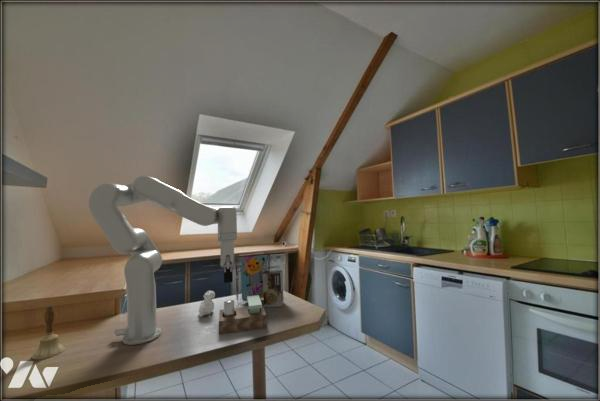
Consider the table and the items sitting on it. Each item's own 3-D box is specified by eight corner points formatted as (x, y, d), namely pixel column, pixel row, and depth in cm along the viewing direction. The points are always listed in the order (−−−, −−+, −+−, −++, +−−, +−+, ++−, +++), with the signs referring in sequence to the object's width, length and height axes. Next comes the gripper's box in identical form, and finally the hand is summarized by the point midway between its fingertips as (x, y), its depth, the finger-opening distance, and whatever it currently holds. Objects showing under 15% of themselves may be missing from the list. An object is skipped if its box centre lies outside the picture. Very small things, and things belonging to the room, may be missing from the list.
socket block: (219, 334, 100) (218, 321, 100) (219, 321, 111) (219, 309, 111) (266, 327, 104) (266, 314, 105) (262, 315, 116) (262, 304, 116)
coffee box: (284, 302, 132) (283, 269, 133) (281, 307, 126) (280, 273, 126) (266, 302, 133) (265, 270, 134) (263, 307, 127) (262, 273, 127)
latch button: (249, 320, 103) (249, 306, 103) (247, 309, 114) (247, 296, 115) (262, 319, 104) (262, 304, 104) (259, 308, 116) (258, 295, 116)
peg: (224, 329, 104) (223, 303, 104) (224, 325, 108) (223, 300, 108) (234, 327, 105) (234, 302, 105) (234, 323, 109) (234, 299, 109)
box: (221, 310, 125) (220, 258, 125) (219, 306, 130) (218, 256, 131) (272, 300, 135) (270, 252, 136) (268, 297, 141) (266, 251, 142)
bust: (204, 323, 115) (220, 301, 117) (190, 314, 114) (206, 292, 116) (209, 313, 127) (224, 293, 128) (196, 304, 126) (211, 284, 128)
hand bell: (69, 344, 96) (69, 300, 96) (58, 356, 88) (58, 307, 89) (39, 350, 93) (39, 304, 93) (26, 362, 85) (26, 312, 86)
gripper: (218, 235, 115) (219, 275, 114) (217, 239, 98) (217, 285, 98) (236, 234, 117) (237, 273, 116) (237, 238, 100) (238, 283, 100)
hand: (228, 279), depth 107 cm, fingers open, 9 cm apart
